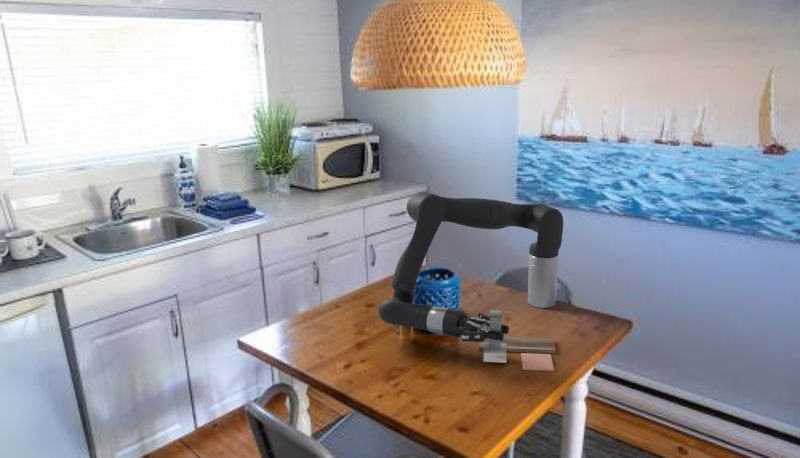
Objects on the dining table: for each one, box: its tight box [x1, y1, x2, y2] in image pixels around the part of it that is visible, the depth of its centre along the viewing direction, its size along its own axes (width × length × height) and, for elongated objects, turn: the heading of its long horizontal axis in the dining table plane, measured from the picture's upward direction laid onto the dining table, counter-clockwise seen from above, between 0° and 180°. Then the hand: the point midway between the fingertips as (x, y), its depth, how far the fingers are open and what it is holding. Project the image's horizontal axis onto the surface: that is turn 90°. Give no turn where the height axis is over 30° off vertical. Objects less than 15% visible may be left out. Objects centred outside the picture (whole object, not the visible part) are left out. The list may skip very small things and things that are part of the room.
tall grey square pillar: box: [483, 309, 508, 364], centre depth 152 cm, size 6×6×13 cm
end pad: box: [520, 352, 555, 372], centre depth 153 cm, size 8×8×1 cm
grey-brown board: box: [478, 336, 556, 354], centre depth 162 cm, size 7×21×1 cm, turn 82°
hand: (505, 333), depth 151 cm, fingers closed on tall grey square pillar, 3 cm apart
